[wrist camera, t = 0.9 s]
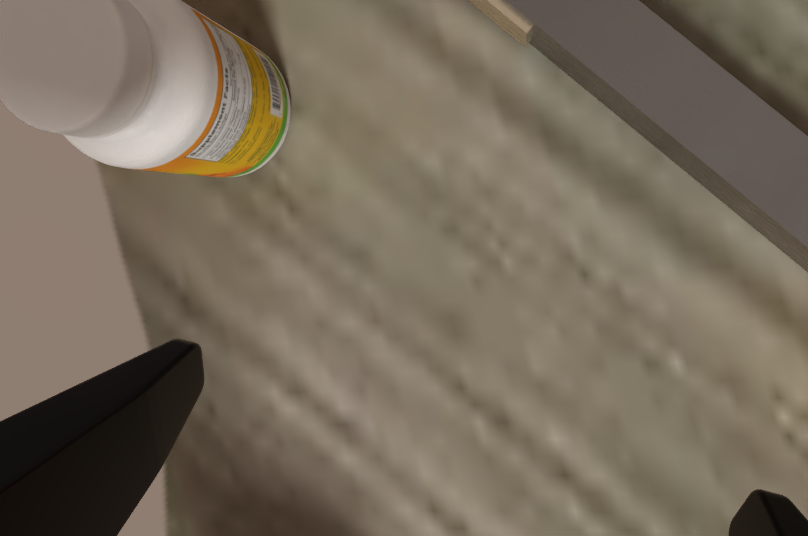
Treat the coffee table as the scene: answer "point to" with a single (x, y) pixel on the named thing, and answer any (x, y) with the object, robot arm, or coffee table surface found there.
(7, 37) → the supplement bottle
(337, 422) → the coffee table surface
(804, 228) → the price rail
